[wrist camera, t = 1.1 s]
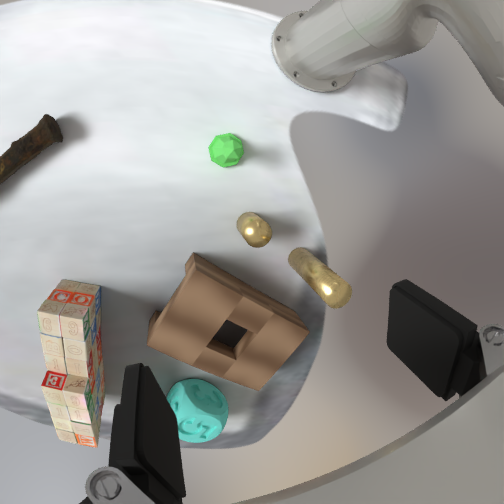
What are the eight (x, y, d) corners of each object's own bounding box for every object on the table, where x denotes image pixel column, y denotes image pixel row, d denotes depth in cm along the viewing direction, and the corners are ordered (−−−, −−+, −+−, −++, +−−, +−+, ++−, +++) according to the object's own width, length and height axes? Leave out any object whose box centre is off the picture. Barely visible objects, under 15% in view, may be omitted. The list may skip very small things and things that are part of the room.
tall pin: (297, 243, 42) (339, 276, 30) (313, 254, 43) (356, 289, 32) (283, 261, 42) (320, 301, 31) (300, 272, 43) (339, 312, 32)
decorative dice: (201, 413, 48) (207, 447, 41) (161, 400, 45) (162, 435, 38) (224, 386, 47) (233, 421, 40) (182, 371, 44) (185, 407, 37)
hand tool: (57, 114, 28) (43, 110, 24) (67, 140, 30) (53, 139, 26) (-33, 187, 27) (-51, 192, 23) (-25, 210, 28) (-42, 217, 24)
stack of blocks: (61, 277, 35) (26, 323, 24) (101, 284, 37) (77, 334, 26) (73, 388, 41) (58, 441, 29) (106, 394, 43) (97, 449, 31)
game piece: (239, 169, 36) (250, 173, 31) (205, 164, 35) (209, 166, 30) (245, 136, 35) (257, 134, 30) (211, 130, 34) (217, 126, 29)
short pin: (246, 207, 38) (255, 215, 34) (265, 220, 39) (277, 230, 35) (231, 227, 39) (239, 238, 34) (251, 240, 40) (261, 252, 35)
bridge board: (193, 252, 38) (196, 269, 33) (294, 311, 45) (309, 332, 40) (149, 320, 40) (146, 345, 34) (249, 366, 47) (258, 390, 41)
